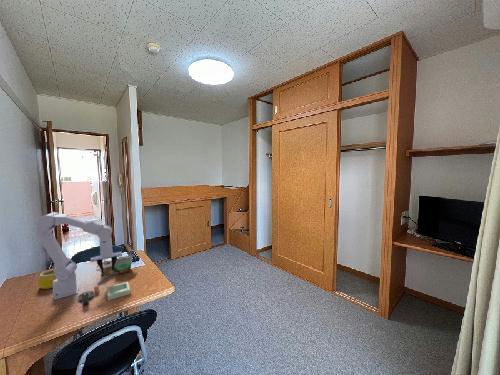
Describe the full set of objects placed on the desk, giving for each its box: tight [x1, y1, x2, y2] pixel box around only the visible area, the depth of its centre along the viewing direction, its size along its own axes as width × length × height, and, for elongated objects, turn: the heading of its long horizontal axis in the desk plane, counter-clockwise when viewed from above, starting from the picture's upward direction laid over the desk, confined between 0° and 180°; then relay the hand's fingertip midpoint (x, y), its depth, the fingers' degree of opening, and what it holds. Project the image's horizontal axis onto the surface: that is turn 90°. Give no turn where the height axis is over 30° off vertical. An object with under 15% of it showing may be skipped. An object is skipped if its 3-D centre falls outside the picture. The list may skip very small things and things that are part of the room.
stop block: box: [103, 264, 113, 277], centre depth 121 cm, size 4×4×5 cm
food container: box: [111, 253, 133, 276], centre depth 137 cm, size 12×6×10 cm, turn 143°
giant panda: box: [95, 258, 114, 277], centre depth 135 cm, size 15×6×10 cm, turn 174°
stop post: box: [93, 284, 100, 295], centre depth 116 cm, size 2×2×4 cm
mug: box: [38, 268, 57, 290], centre depth 123 cm, size 13×11×12 cm
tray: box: [106, 281, 131, 301], centre depth 115 cm, size 10×10×2 cm
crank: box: [77, 290, 95, 306], centre depth 109 cm, size 12×6×5 cm, turn 36°
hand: (107, 271), depth 121 cm, fingers closed on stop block, 4 cm apart
